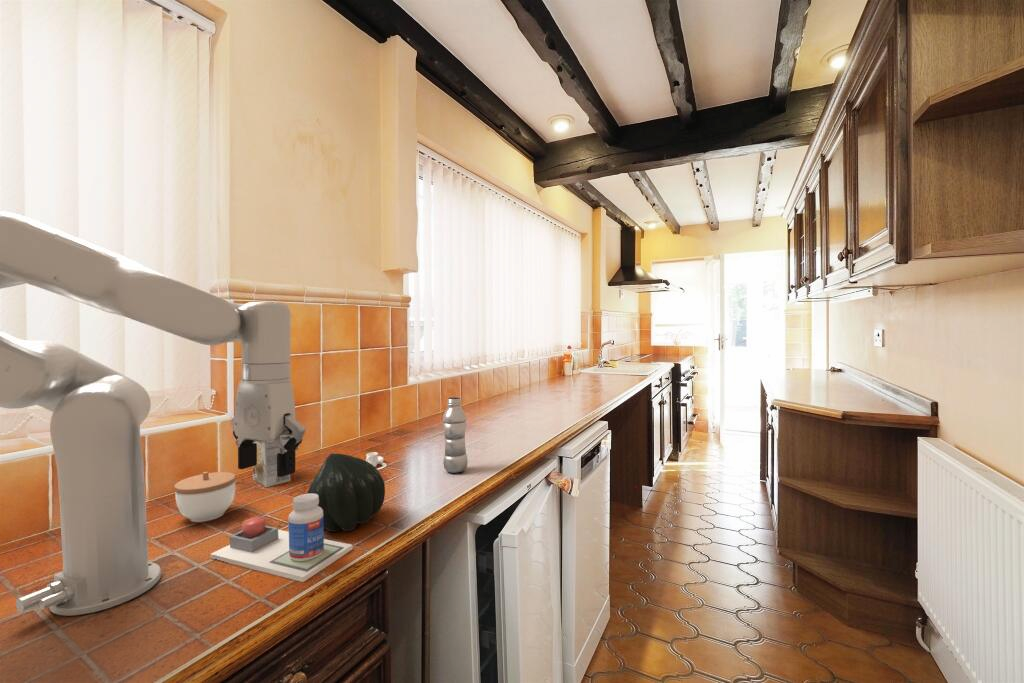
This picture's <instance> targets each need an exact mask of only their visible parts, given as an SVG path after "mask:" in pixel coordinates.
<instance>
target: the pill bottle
mask: <svg viewBox="0 0 1024 683" xmlns="http://www.w3.org/2000/svg"><path fill="white" fill-rule="evenodd" d="M318 504H319V496H318V495H317V494H313V493H310V494H307V493H303V494H300V495H297V496H295V497H294V498H293V499H292V508H293V510H292V511H291V512H290V513H288V514H289V515H288V532H289V556H290V558H291V559H292V560H294V561H307V560H311V559H314V558H316V557H318V556H319V555H321V554H322V553H323V551H324V539H325V537H324V535H325V533H324V529H325V528H324V527H323V510H322V508H321V507H319V506H317V505H318Z"/></svg>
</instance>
